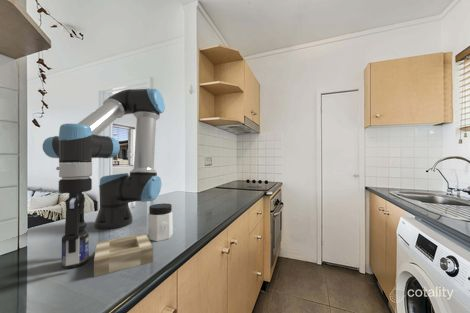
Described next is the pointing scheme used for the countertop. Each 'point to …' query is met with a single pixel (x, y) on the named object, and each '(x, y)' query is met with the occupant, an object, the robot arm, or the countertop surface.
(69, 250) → the robot arm
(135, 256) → the jig
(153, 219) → the jar
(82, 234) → the pill bottle
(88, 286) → the countertop surface
